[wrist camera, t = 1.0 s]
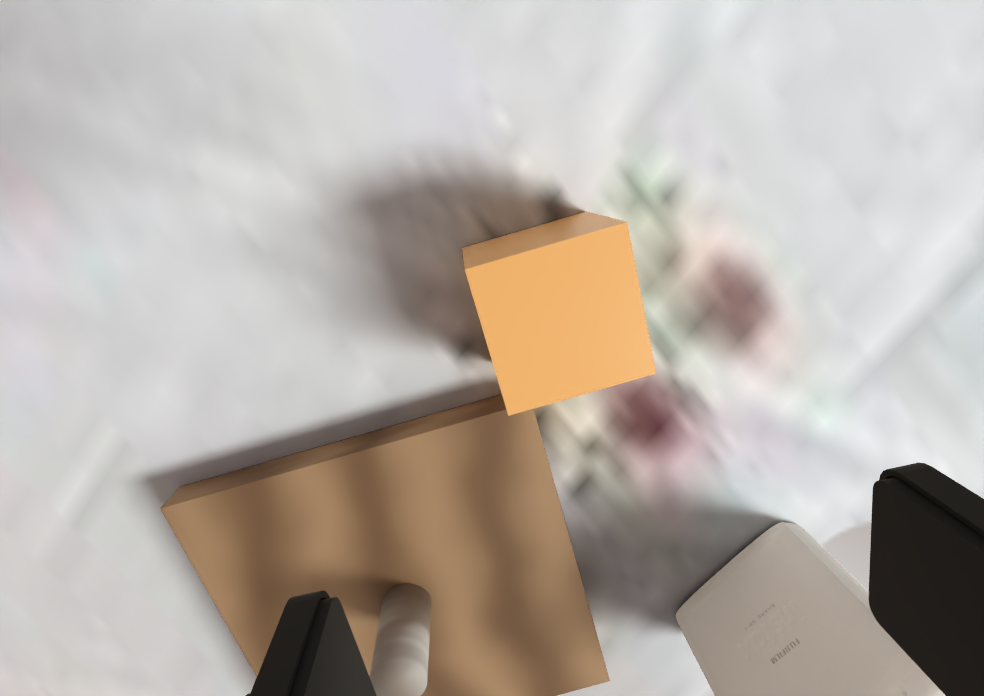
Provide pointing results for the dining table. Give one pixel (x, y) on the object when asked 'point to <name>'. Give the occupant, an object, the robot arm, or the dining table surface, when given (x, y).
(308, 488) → the board
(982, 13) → the dining table surface
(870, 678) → the photo printer
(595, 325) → the solid orange cube
